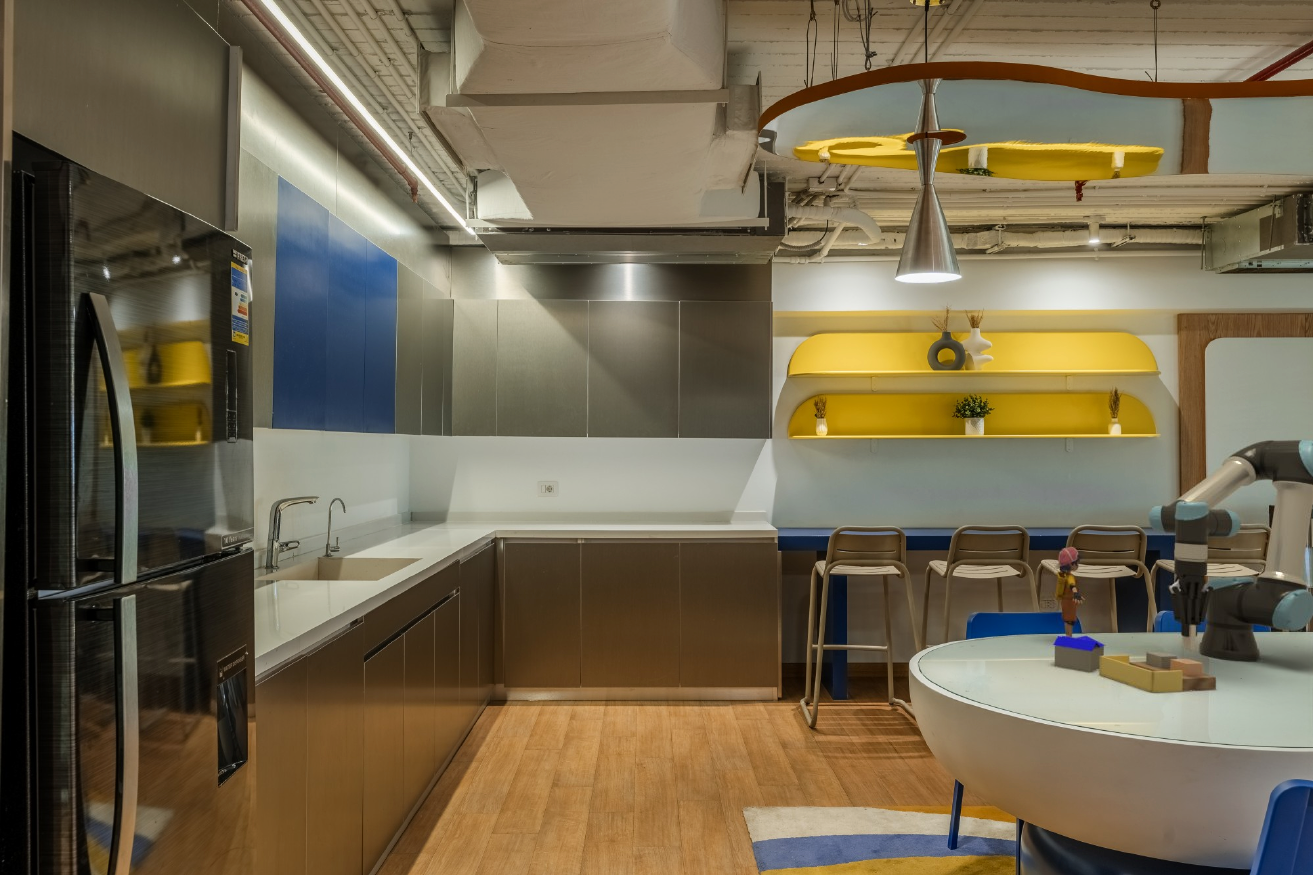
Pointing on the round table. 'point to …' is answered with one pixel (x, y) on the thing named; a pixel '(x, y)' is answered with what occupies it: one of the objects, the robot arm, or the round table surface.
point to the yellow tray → (1139, 675)
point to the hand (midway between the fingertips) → (1188, 648)
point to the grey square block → (1159, 659)
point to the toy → (1068, 586)
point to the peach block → (1187, 666)
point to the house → (1078, 653)
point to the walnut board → (1185, 678)
